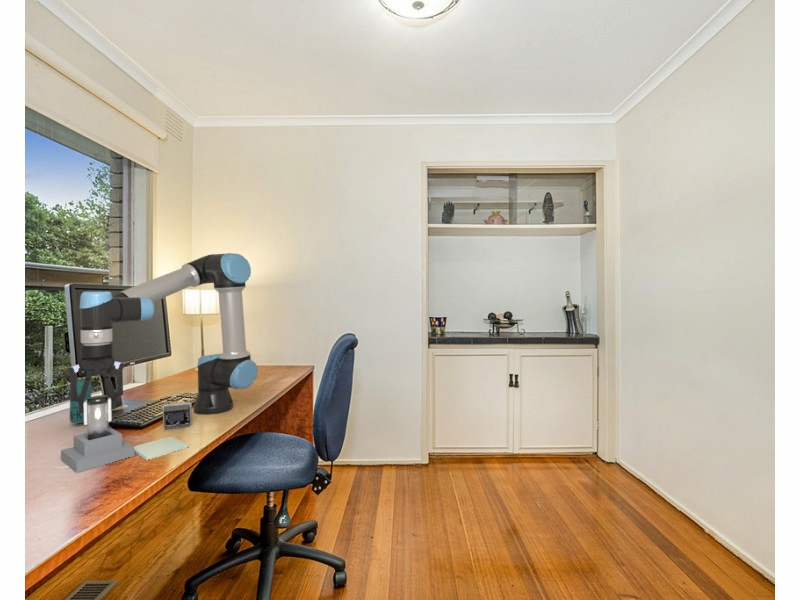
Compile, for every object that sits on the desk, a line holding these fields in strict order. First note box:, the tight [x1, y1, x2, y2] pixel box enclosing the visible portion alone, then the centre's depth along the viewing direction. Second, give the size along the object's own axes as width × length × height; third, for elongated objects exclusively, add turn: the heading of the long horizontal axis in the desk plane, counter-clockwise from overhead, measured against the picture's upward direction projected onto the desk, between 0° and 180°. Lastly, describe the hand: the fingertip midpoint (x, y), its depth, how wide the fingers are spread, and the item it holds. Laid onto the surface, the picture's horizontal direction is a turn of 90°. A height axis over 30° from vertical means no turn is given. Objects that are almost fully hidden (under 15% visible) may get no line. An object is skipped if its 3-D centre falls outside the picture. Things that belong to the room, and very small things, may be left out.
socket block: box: [60, 427, 135, 474], centre depth 120 cm, size 14×14×7 cm
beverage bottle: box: [69, 376, 92, 424], centre depth 150 cm, size 6×7×20 cm
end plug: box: [87, 394, 110, 440], centre depth 120 cm, size 5×5×13 cm
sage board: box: [133, 436, 189, 461], centre depth 127 cm, size 12×12×1 cm
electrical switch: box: [161, 401, 193, 431], centre depth 146 cm, size 9×5×9 cm, turn 113°
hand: (98, 421), depth 120 cm, fingers closed on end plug, 5 cm apart
